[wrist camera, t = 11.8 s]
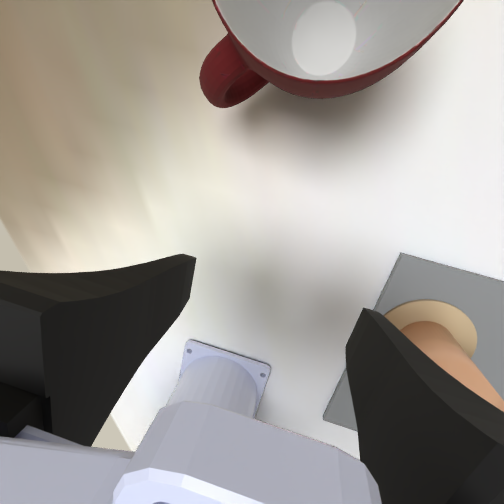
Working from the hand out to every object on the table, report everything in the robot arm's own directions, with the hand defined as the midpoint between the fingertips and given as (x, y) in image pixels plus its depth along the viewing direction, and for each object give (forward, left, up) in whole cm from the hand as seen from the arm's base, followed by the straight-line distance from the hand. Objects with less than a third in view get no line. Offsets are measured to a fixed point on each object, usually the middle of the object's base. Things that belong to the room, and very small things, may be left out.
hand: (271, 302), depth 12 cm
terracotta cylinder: (-5, -12, -9) cm, 16 cm away
